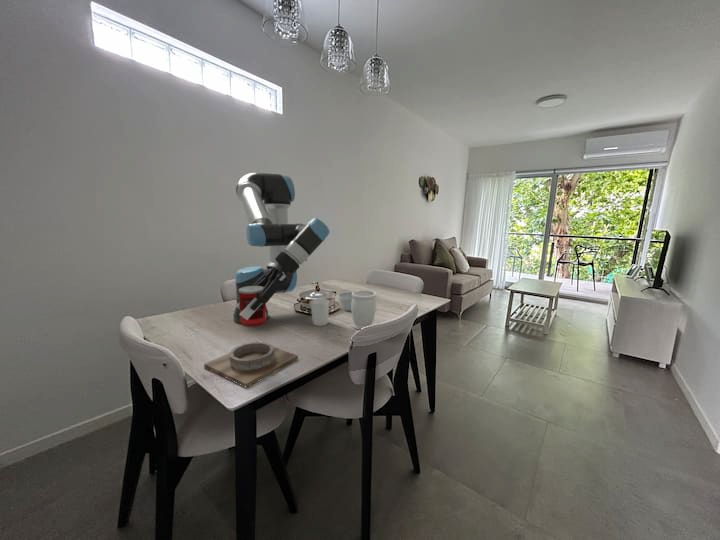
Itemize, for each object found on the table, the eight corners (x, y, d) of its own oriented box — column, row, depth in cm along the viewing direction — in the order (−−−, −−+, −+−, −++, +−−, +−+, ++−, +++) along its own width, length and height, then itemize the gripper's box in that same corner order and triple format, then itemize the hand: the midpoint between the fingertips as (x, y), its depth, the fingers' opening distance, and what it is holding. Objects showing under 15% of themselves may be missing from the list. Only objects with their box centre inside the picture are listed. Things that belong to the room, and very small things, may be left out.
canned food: (254, 316, 97) (253, 284, 95) (272, 321, 93) (270, 287, 91) (234, 323, 90) (232, 289, 88) (252, 328, 86) (250, 292, 84)
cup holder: (204, 367, 90) (203, 354, 89) (257, 344, 107) (256, 333, 106) (246, 388, 80) (245, 373, 79) (297, 358, 96) (297, 347, 96)
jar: (363, 320, 133) (364, 289, 131) (380, 327, 126) (381, 293, 123) (345, 326, 126) (346, 292, 123) (362, 333, 119) (363, 298, 116)
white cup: (330, 320, 133) (330, 299, 131) (327, 326, 125) (327, 304, 123) (313, 319, 134) (313, 298, 132) (309, 325, 126) (308, 303, 124)
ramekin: (363, 312, 145) (363, 299, 144) (337, 312, 145) (337, 298, 144) (362, 304, 158) (363, 292, 157) (338, 304, 158) (338, 291, 157)
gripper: (310, 270, 87) (256, 331, 82) (290, 261, 105) (245, 310, 100) (292, 254, 84) (235, 315, 79) (275, 247, 101) (228, 297, 97)
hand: (241, 312), depth 89 cm, fingers closed on canned food, 8 cm apart
